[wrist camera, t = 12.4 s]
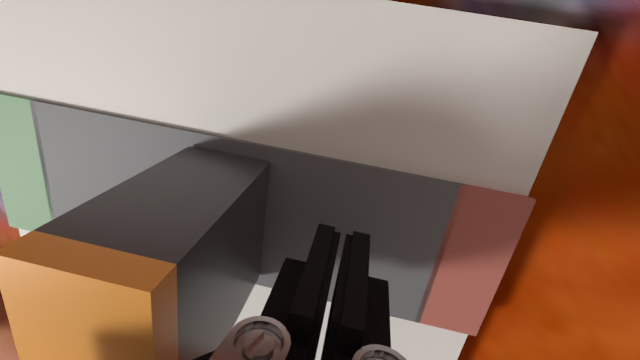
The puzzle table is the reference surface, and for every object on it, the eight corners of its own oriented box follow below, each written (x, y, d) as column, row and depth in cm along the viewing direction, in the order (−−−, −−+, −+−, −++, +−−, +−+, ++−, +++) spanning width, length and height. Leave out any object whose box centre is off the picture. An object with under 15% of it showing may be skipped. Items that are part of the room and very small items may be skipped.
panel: (582, 34, 10) (611, 33, 9) (434, 389, 17) (439, 418, 15) (-15, -57, 12) (-61, -69, 11) (54, 292, 18) (29, 311, 17)
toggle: (270, 162, 12) (150, 292, 6) (259, 277, 14) (160, 467, 8) (189, 146, 12) (-10, 253, 6) (189, 260, 14) (39, 431, 8)
